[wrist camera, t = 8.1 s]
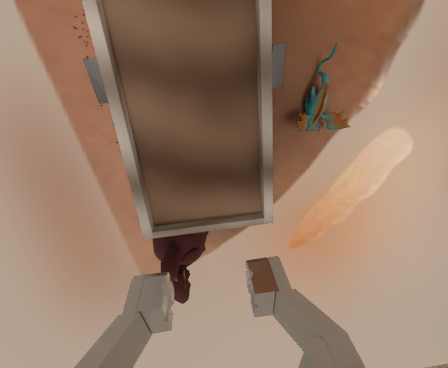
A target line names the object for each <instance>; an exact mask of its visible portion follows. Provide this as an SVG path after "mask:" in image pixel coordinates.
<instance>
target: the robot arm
mask: <svg viewBox="0 0 448 368" xmlns="http://www.w3.org/2000/svg"><path fill="white" fill-rule="evenodd" d="M246 269H247V271H246V280H247V286H248V291H249V293H250V294H251V304H252V308H253V313H254V317H260V316H268V315H273V316H274V317H275V319H276V320H277V321H278V322H279V323H280V324H281V326H282V327H283V328H284V329H285V330H286V331H287V333H288V334H289V335H290V336H291V337H292V338H293V339H294V341H295V342H296V343H297V344H298V345H299V347H300V348H301V349H302V350H303V351H304V353H303V356H302V359H301V362H300V365H299V368H365V366H364V364H363V362H362V360H361V358H360V356H359V354H358V353H357V351H356V349H355V347H354V345H353V343H352V341H351V340H350V338H349V336H348V334H347V332H345V331H344V330H343V329H342V328H341V327H340V326H339V325H337V324H336V323H335V322H334V321H333V320H331V319H330V318H329V317H328V316H327V315H325V314H324V313H323V312H322V311H321V310H320V309H318V308H317V307H316V306H315V305H314V304H313V303H311V302H310V301H309V300H308V299H307V298H305V297H304V296H303V295H302V294H301V293H299V292H298V291H297V290H296V289H292V288H291V285H290V283H289V280H288V278H287V276H286V273H285V271H284V268H283V266H282V264H281V261H280V258H279V257H278V256H276V257H269V258H261V259H254V260H248V261H246ZM173 304H174V287H173V283H172V282H171V281H170V274H169V272H163V273H155V274H147V275H139V276H134V277H133V279H132V281H131V284H130V288H129V291H128V295H127V298H126V303H125V306H124V309H123V313H122V315H118V316H117V318H116V319H115V320H114V321H113V322H112V324H111V325H110V326H109V327H108V328H107V329H106V331H105V332H104V333H103V334H102V335H101V337H100V338H99V339H98V340H97V341H96V343H95V344H94V345H93V346H92V347H91V349H90V350H89V351H88V352H87V353H86V355H85V356H84V357H83V358H82V359H81V360H80V361H79V363H78V364H77V365H76V366H75V367H74V368H133V366H134V364H135V363H136V361H137V359H138V358H139V356H140V354H141V353H142V351H143V349H144V347H145V345H146V344H147V342H148V341H149V339H150V337H151V334H153V333H158V332H163V331H169V330H171V329H172V318H173V317H172V316H173V313H172V310H171V307H172V305H173ZM427 368H448V364H443V365H438V366H432V367H427Z"/></svg>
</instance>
